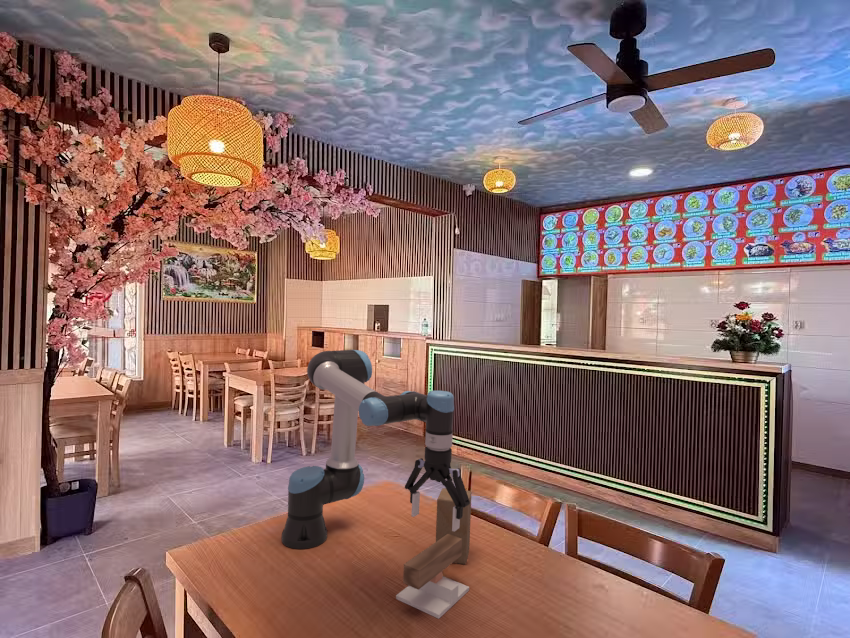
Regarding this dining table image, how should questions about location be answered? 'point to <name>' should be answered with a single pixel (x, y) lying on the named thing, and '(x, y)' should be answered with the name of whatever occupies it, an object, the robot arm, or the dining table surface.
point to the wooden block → (445, 522)
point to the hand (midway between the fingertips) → (434, 522)
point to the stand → (434, 595)
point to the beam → (432, 561)
